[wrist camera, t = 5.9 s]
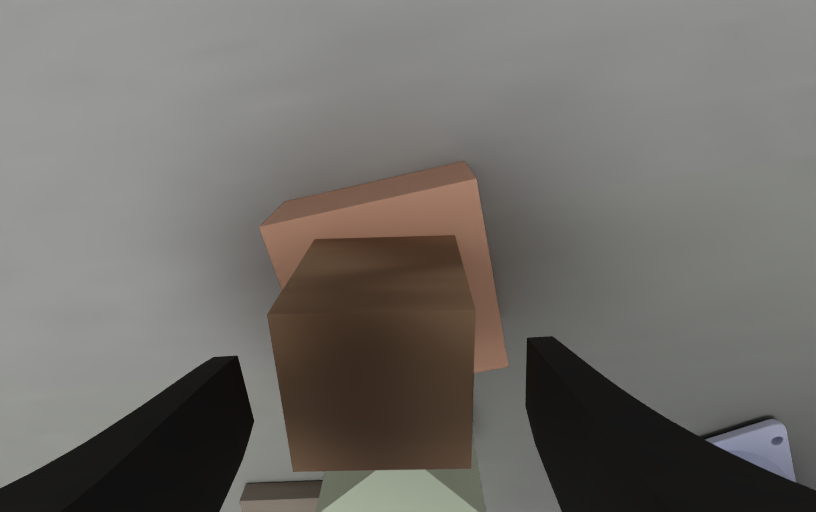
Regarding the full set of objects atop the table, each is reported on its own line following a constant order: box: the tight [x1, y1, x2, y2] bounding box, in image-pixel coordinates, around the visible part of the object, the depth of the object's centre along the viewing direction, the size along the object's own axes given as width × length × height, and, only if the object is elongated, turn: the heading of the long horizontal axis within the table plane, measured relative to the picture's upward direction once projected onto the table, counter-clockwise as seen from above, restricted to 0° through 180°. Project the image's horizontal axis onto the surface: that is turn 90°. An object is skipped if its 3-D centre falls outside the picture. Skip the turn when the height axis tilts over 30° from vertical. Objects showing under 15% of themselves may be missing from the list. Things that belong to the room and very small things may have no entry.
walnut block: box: [267, 235, 476, 472], centre depth 13 cm, size 4×4×5 cm
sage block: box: [316, 433, 486, 512], centre depth 19 cm, size 4×4×5 cm
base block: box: [259, 161, 509, 373], centre depth 17 cm, size 7×7×4 cm
